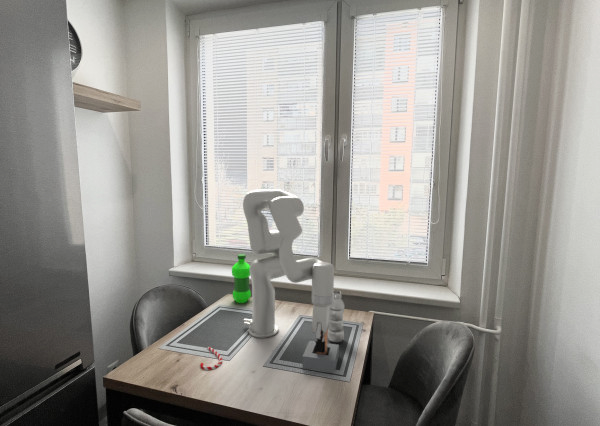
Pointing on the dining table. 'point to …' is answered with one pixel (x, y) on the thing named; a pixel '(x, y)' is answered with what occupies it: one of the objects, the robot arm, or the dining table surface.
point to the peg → (325, 344)
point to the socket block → (320, 358)
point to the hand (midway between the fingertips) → (321, 348)
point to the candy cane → (214, 365)
